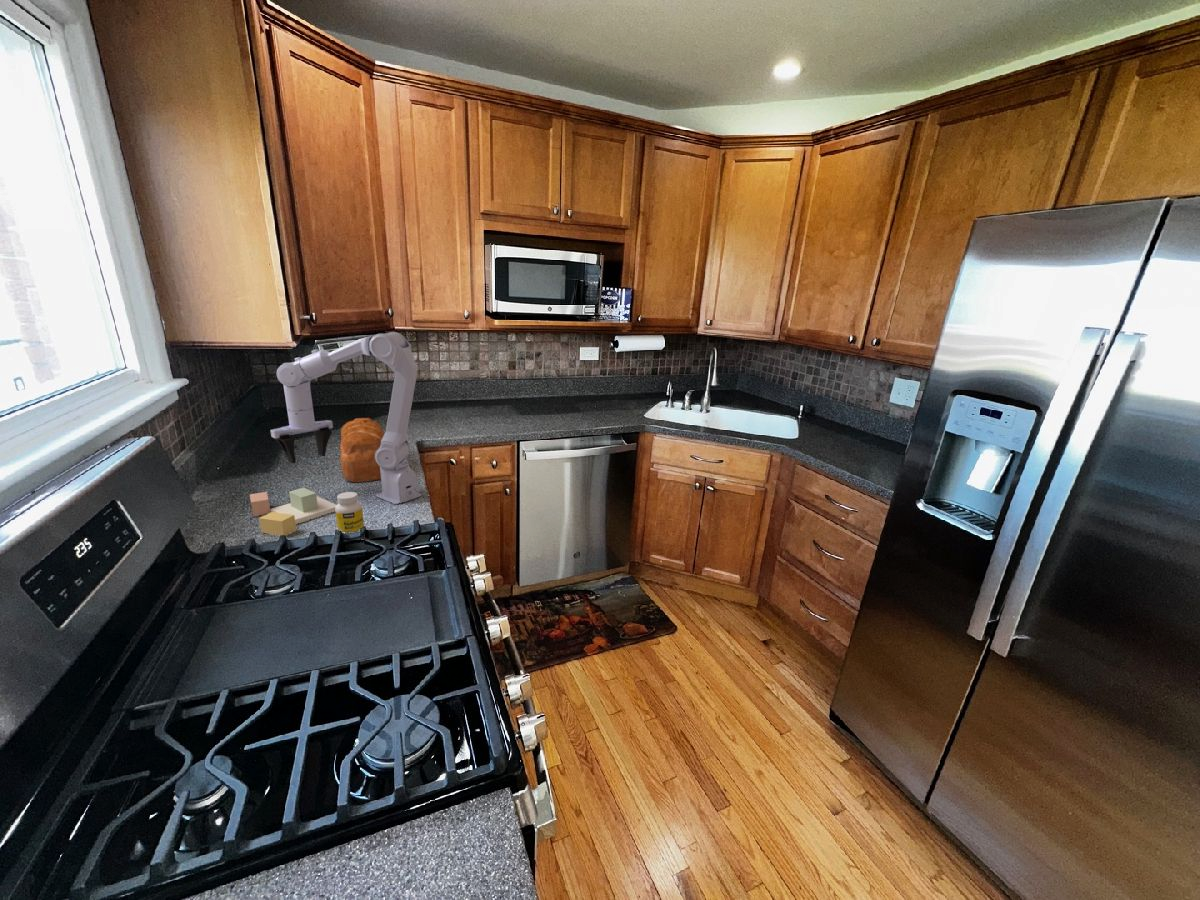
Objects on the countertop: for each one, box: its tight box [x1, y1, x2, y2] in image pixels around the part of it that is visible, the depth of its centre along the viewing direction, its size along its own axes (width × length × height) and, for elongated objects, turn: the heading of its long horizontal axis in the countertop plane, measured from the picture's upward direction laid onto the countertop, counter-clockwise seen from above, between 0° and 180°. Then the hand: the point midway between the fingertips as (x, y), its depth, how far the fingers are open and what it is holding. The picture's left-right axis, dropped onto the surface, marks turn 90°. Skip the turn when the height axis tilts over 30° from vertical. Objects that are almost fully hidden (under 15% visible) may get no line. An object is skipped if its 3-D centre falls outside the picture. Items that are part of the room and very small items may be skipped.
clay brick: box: [249, 491, 271, 517], centre depth 118 cm, size 6×4×4 cm, turn 37°
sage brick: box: [288, 487, 318, 513], centre depth 118 cm, size 6×4×4 cm, turn 57°
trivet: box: [270, 495, 337, 525], centre depth 119 cm, size 11×11×1 cm
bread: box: [339, 417, 385, 483], centre depth 149 cm, size 14×26×16 cm, turn 28°
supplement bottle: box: [334, 491, 365, 533], centre depth 107 cm, size 5×5×10 cm
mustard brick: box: [258, 512, 297, 536], centre depth 108 cm, size 6×4×4 cm, turn 78°
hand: (307, 458), depth 126 cm, fingers open, 7 cm apart
